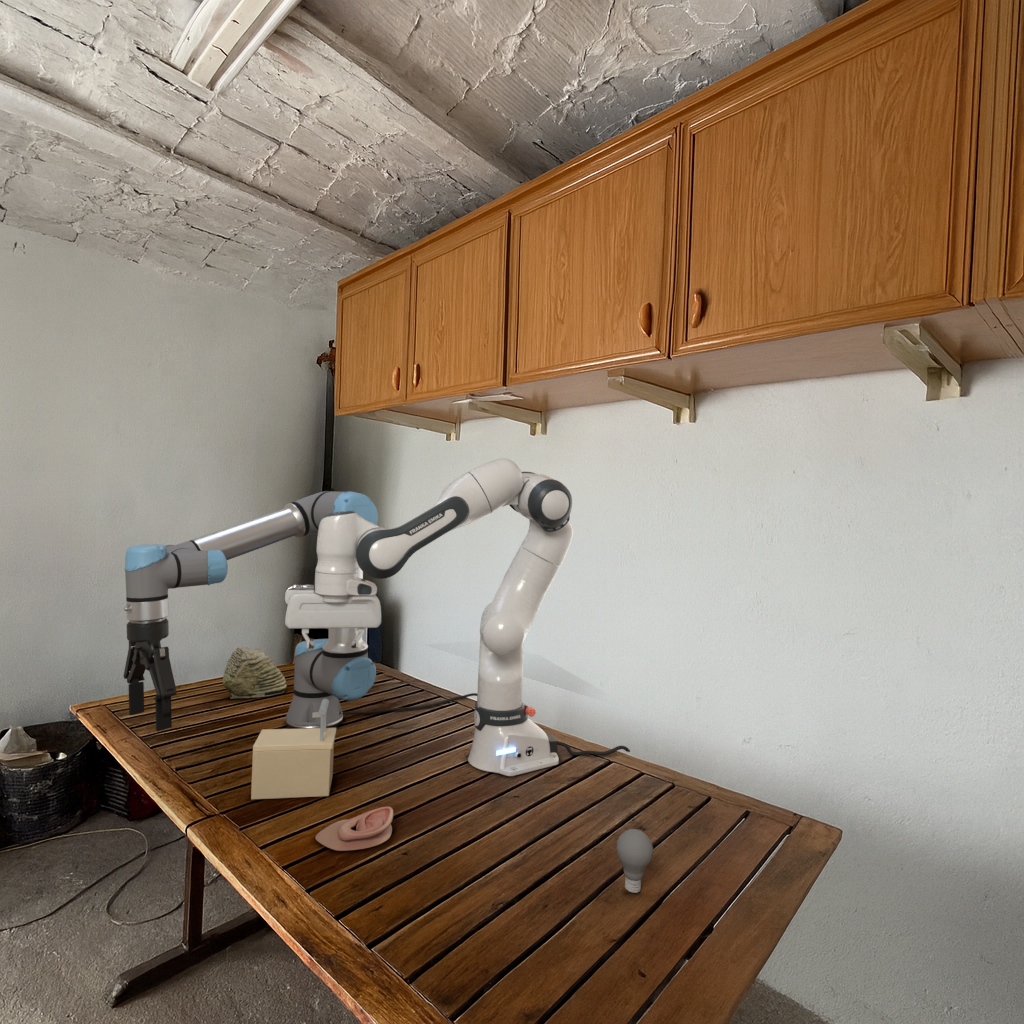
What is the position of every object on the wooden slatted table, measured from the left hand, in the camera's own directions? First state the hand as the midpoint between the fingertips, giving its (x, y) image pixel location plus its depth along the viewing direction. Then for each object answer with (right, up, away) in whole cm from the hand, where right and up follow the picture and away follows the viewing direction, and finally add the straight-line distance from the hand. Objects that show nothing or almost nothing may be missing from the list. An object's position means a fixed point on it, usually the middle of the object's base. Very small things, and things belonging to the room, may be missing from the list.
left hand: (149, 721), depth 132 cm
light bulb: (+96, -20, -26) cm, 101 cm away
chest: (+28, -16, +6) cm, 33 cm away
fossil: (-5, -14, +66) cm, 68 cm away
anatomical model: (+46, -17, -13) cm, 51 cm away
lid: (+29, -6, +6) cm, 30 cm away
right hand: (+36, +14, +7) cm, 39 cm away
